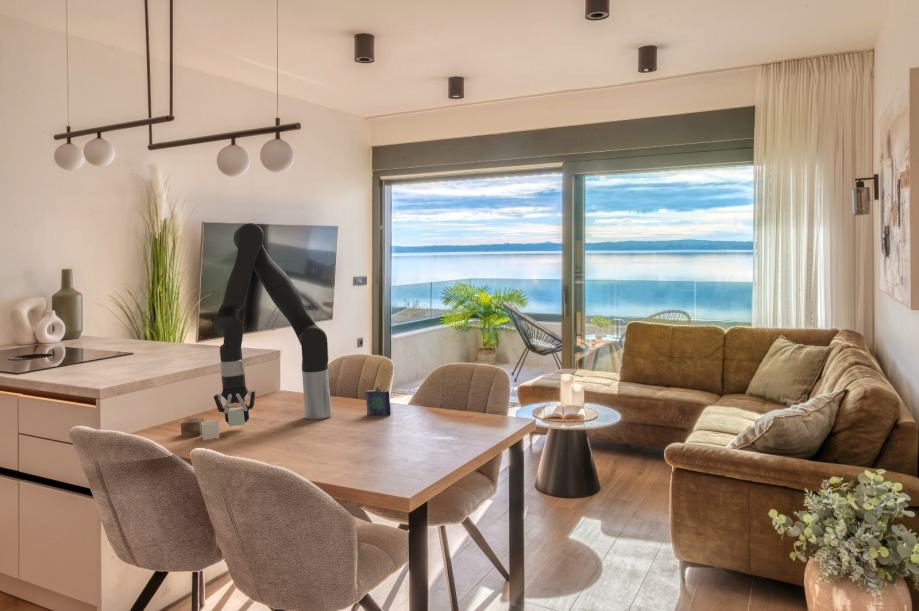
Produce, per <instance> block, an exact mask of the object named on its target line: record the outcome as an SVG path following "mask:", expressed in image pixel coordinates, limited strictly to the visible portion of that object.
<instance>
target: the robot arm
mask: <svg viewBox="0 0 919 611" xmlns="http://www.w3.org/2000/svg"><path fill="white" fill-rule="evenodd" d="M264 239H265V234H264V231H263V229H262V227H261V226H260V225H258V223H254V222H253V223H252V222H251V223H250V222H247V223H244V224H243V225H241V226H240V227H238V228H237V229H236V230H235V231H234V233H233V242H234V246H236V248H237V252H236V257H235V261H234V264H233V267H232V270H231V273H230V275H229V278H228V281H227V284H226V287H225V292H224V295H223V296H224V297H223V299H222V304H221V305H220V306H219V309H218V311H217V314H216V315H215V318H214V323H213V324H214V325H213V328H214V330H215V333H216V334H218V335H219V336H223V343H222V344H221V345H220V347H219V355H220V356H219V357H220V376H221V385H222V386H221V387H222V392H221V393H218V394H217V393H216V394H215V395H214V396H213V399H214V402H215V405H216V407H217V410H218V412H219V413H224V418H225V420H224V422H226V423H227V424H228V425H229V421H228V411H229V409H231V405H232V404H235V403H237V404H240V407H243V409H244V419H245V422H246V423H247V422H248V421H249V419H250V412H249V410H252V409H253V408H254V405H255V400H256V393H257V392H256V390H248V388H247V385H246V375H245V374H246V373H245V366H244V361H243V353H242V344H243V338H244V336H243V335H244V325H243V322H242V320H241V318H240V317H238V316H237V315H238V313H239V311H241V310H243V308H244V306H245V304H246V303H245V302H246V300H247V295H248V290H249V285H250V283H251V278H252V273H253V270H254V273H255V274H256V276H257V278H258V279H259V281H260V283H261V285H262V287H263V288H264V290H265V291H266V293H267V294H268V295H269V298H270V299H271V300H272V302H273V303H274V305H275V307H277V309H278V310H279V311H280V312H281V314H282V315H283V316H284V317H285V318H286V320H287V321H288V322H289V324H290V326H291V327H292V329H293V331H294V333H295V336H296V337H297V339H298V342H299V344H300V345H301V346H300V348H301V359H302V360H301V374H302V387H303V388H302V390H303V402H304V404H303V405H304V406H303V407H304V416H305V417H304V418H305V419H306V420H322V419H325V418H331V417H332V406H331V404H332V403H331V392H330V391H331V390H330V383H329V381H330V380H329V367H328V366H329V349H328V348H329V345H328V337H327V336H328V335H327V333H326V332H325V331H324V330H323V329H322V328H320V327H319V326H318V325H317V323H315V321H314V320H313V318H312V317H311V316H310V314H309V313H308V312H307V309H306V308H305V305H304V302H303V300H302V298H301V296H300V294H299V292H298V290H297V288H296V286H295V284H294V283H293V281H292V280H291V278H290V277H289V275H288V274H287V273H286V272H285V270H283V269H282V268H281V266H280V265H278V264H277V263H276V261H274V260H273V259H272V258H271V256H270V255H269V253H268V251H267V250H266V248H265V246H264V244H263V243H264V241H265V240H264ZM247 395H248V397H249V398H250V400H249V404H247V401H246V399H245V398H246V396H247ZM222 397H223V398H224V399H225V400H226V403H225V407H224V406H223V403H222V401H221V400H223V399H222Z"/></svg>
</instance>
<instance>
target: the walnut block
mask: <svg viewBox="0 0 919 611" xmlns="http://www.w3.org/2000/svg"><path fill="white" fill-rule="evenodd" d="M201 422H205V420H204V417H197V418H185V419H184V420H182V421H181V422H180V433H181V438H193V437H194V438H195V437H196V438H197V437H201V436H202V425H201Z"/></svg>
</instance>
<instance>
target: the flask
mask: <svg viewBox="0 0 919 611" xmlns="http://www.w3.org/2000/svg"><path fill="white" fill-rule="evenodd" d="M374 388H375V389H370V390H369V389H368V390H366V391H365V399H366V402H365V403H366V415H367V416H376V417H378V416H383V417H390V416H391V415H392V412H391V403H390V402H391V401H390V400H391V399H390V391H389V390H388V389H387V390H386V389H382V388H381V387H380V385H376V386H374Z"/></svg>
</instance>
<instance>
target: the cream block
mask: <svg viewBox="0 0 919 611" xmlns="http://www.w3.org/2000/svg"><path fill="white" fill-rule="evenodd" d="M201 425H202V435H201V436H202V441H207V439H209V440H214V439H213V438H216V439H220V428H219V422H218V420H217V419H215V420H211V421H210V420H209V421H208V420H207V421H204V422H201Z"/></svg>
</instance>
